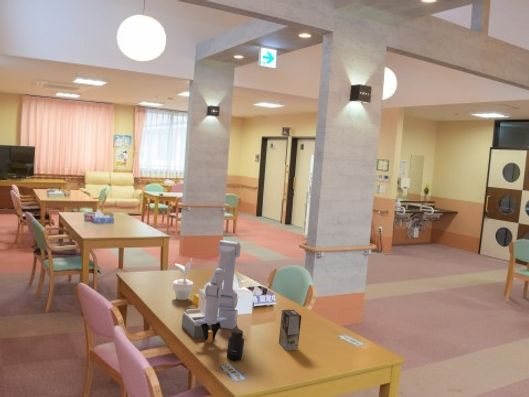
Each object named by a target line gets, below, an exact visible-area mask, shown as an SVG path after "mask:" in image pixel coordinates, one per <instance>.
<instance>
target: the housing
mask: <svg viewBox="0 0 529 397" xmlns="http://www.w3.org/2000/svg"><path fill="white" fill-rule="evenodd" d="M200 312H201V313H202V314H203V315H204V316H205V313H204V312H203V311H202V310H200ZM181 316H182V318H181V327H182V328H183V329H184V330H185V331H186V332H187V333H188V334H189V335H190V336H191V337H192V338H193V339H197V338H198V339H199V338H200V339H201V338H204V334H203V330H202V327H201V325H198V326H196V325H195V320H199V319H203V318H198V319H192V318H191V317H190V316H189V315H188V314H187V313H186V311H183V314H182V315H181ZM208 326H209V327H210V328H209V330H211V331H212V324H208Z"/></svg>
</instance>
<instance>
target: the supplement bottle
mask: <svg viewBox="0 0 529 397" xmlns="http://www.w3.org/2000/svg"><path fill="white" fill-rule="evenodd" d="M243 334H244V331H243V329H239V328H238V329H237V328H234V329H231V333H230V336H229V337H228V340H227V349H226V359H227V360H229V361H231V362H240V361H242V360H243V355H244V354H243V353H244V347H245V338H244V335H243Z"/></svg>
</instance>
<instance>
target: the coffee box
mask: <svg viewBox="0 0 529 397" xmlns="http://www.w3.org/2000/svg"><path fill="white" fill-rule="evenodd" d="M280 318H281V319H280V326H279V334H278V335H279V337H278V338H279V339H278V344H279V345H280V346H281V347H282V348H283V349H284V350H285V351H294V350H293V349H299V344H300V343H299V341H300V334H301V333H300V332H301V323H302V315H301V314H300V313H299V312H297V311H296V310H295V309H282V310H281V317H280Z"/></svg>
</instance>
